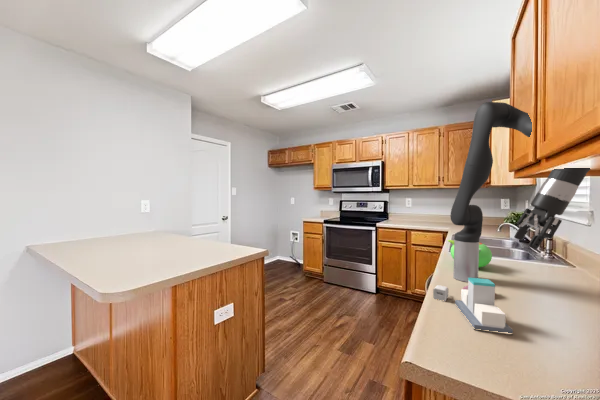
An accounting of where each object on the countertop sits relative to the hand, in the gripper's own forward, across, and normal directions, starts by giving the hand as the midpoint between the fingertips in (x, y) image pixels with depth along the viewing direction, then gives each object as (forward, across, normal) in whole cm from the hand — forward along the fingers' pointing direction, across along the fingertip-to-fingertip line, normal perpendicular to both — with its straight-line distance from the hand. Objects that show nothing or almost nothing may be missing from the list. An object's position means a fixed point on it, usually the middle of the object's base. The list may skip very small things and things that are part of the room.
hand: (524, 243), depth 79 cm
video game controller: (+26, -11, +2) cm, 28 cm away
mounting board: (+25, +10, -5) cm, 28 cm away
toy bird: (+27, -50, +12) cm, 58 cm away
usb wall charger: (+30, -3, -12) cm, 32 cm away
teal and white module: (+23, +10, -6) cm, 26 cm away
